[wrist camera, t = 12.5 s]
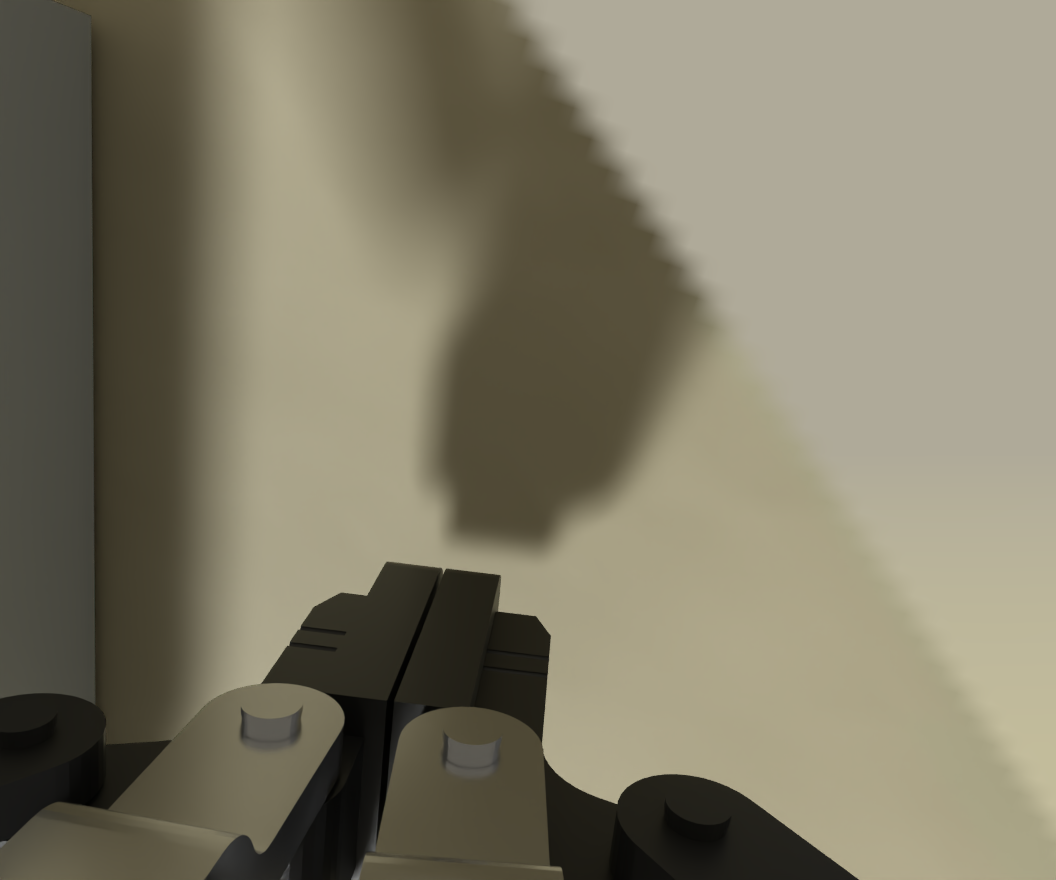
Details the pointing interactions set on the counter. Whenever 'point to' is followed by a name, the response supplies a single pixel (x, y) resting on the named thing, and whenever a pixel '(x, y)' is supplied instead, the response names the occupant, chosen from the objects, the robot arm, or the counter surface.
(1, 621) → the tray
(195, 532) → the counter surface
